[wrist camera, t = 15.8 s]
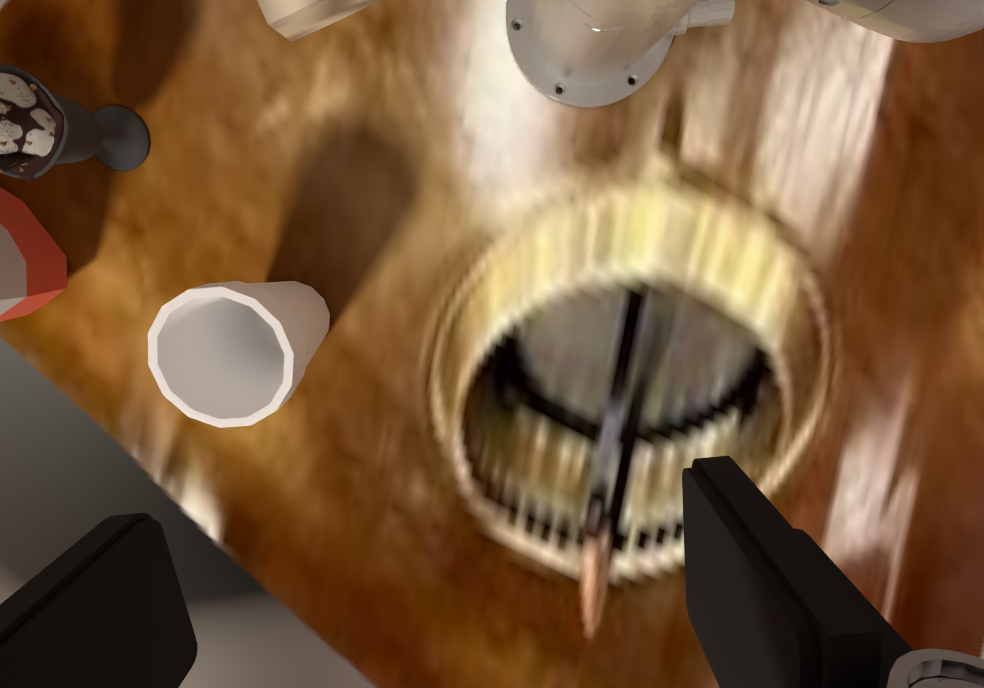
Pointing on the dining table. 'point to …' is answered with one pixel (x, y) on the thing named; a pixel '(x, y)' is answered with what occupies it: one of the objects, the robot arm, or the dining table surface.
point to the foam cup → (235, 348)
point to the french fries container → (26, 260)
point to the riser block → (307, 14)
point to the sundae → (61, 130)
